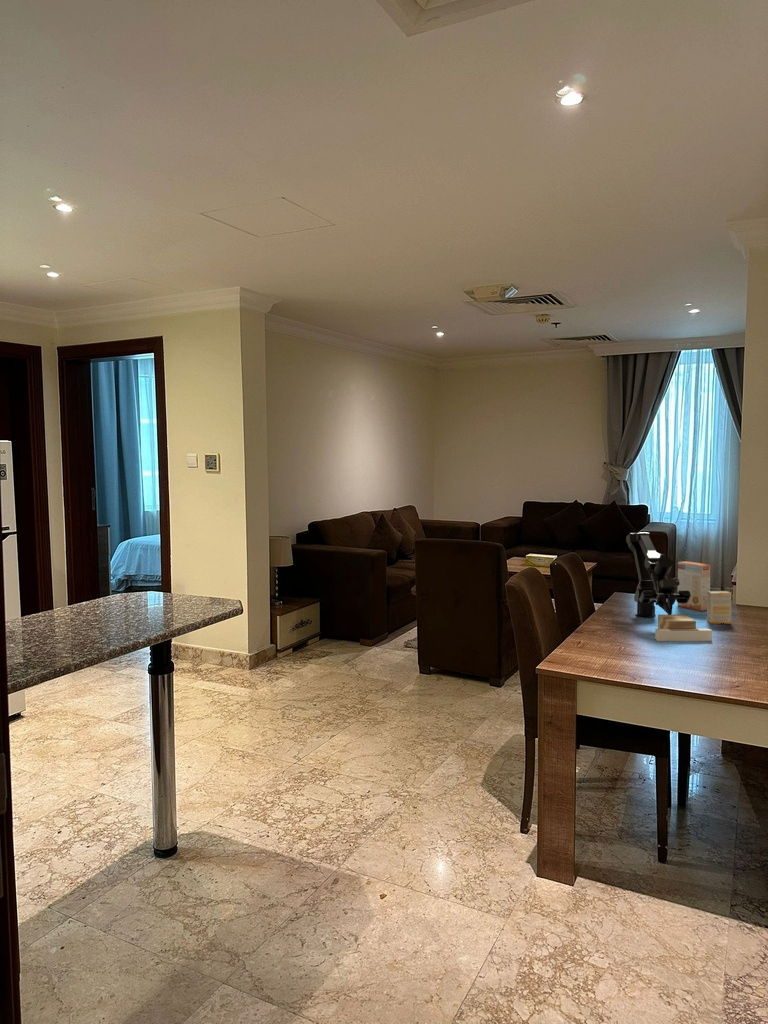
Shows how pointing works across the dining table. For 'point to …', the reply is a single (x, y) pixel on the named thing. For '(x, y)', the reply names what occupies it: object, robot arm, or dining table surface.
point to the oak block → (675, 621)
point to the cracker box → (694, 584)
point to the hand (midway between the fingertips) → (670, 614)
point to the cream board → (683, 634)
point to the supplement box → (719, 607)
